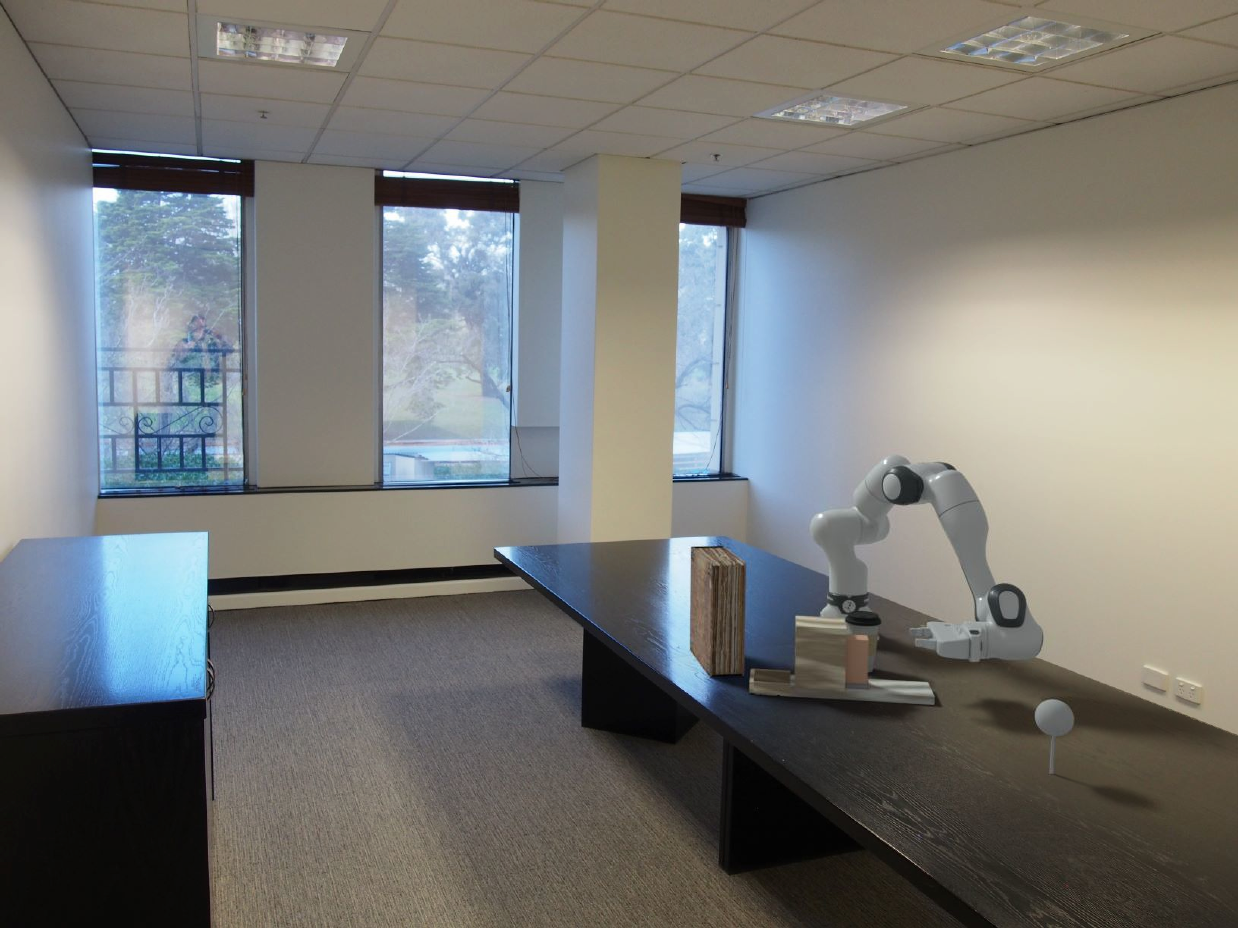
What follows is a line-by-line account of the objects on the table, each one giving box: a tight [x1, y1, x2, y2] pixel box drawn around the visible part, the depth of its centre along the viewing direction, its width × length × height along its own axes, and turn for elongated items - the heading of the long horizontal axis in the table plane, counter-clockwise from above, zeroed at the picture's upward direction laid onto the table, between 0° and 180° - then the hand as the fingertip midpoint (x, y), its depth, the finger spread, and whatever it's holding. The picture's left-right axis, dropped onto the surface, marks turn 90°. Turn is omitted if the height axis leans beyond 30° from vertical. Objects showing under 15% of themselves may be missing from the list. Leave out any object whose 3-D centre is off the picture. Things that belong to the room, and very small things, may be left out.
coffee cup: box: [845, 611, 882, 673], centre depth 263 cm, size 9×9×15 cm
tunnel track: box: [748, 615, 936, 705], centre depth 244 cm, size 11×44×18 cm, turn 81°
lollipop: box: [1034, 699, 1075, 775], centre depth 196 cm, size 7×7×15 cm
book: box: [689, 545, 747, 678], centre depth 267 cm, size 25×9×30 cm, turn 8°
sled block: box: [845, 634, 870, 689], centre depth 244 cm, size 6×12×12 cm, turn 81°
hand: (912, 637), depth 241 cm, fingers open, 8 cm apart
